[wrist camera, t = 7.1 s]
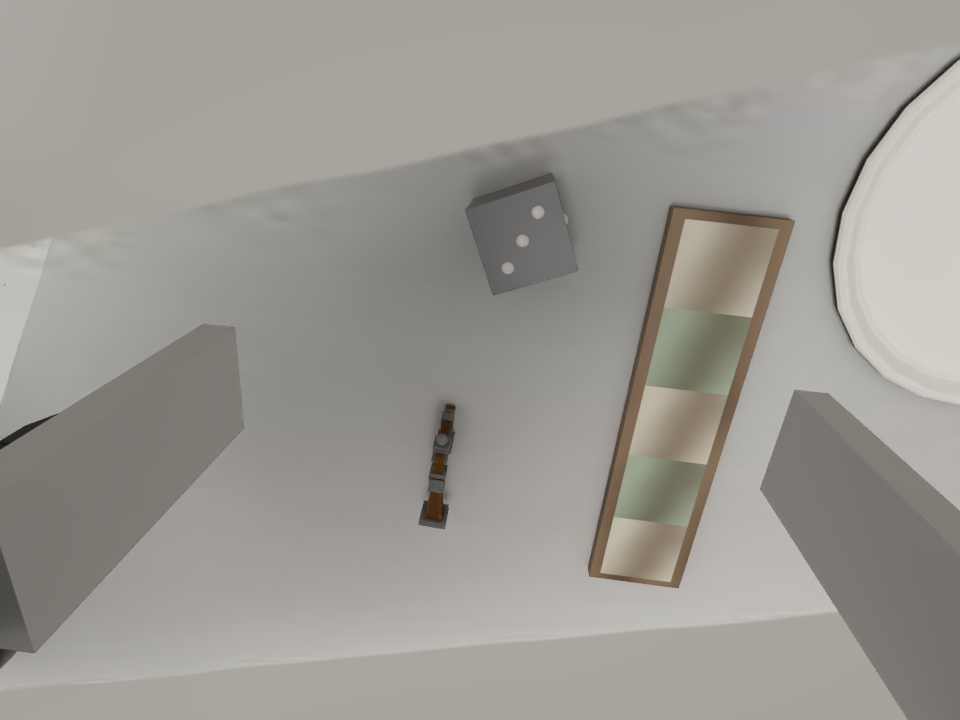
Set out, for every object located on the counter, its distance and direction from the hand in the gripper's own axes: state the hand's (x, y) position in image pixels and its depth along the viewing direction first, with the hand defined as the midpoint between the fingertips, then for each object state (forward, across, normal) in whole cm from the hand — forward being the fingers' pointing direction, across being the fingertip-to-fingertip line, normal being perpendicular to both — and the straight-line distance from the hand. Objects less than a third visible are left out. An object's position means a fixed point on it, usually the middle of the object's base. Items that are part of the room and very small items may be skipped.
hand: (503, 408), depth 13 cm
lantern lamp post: (+20, -4, -19) cm, 27 cm away
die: (+20, 0, +1) cm, 21 cm away
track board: (+20, +11, -10) cm, 25 cm away
